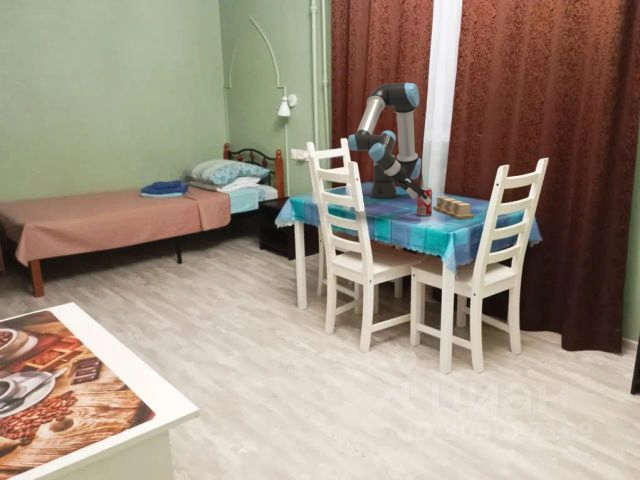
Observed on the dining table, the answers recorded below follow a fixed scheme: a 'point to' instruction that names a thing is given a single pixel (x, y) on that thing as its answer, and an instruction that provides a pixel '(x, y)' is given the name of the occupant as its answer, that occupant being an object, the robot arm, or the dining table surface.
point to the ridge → (453, 208)
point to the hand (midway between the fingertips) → (422, 200)
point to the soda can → (424, 204)
